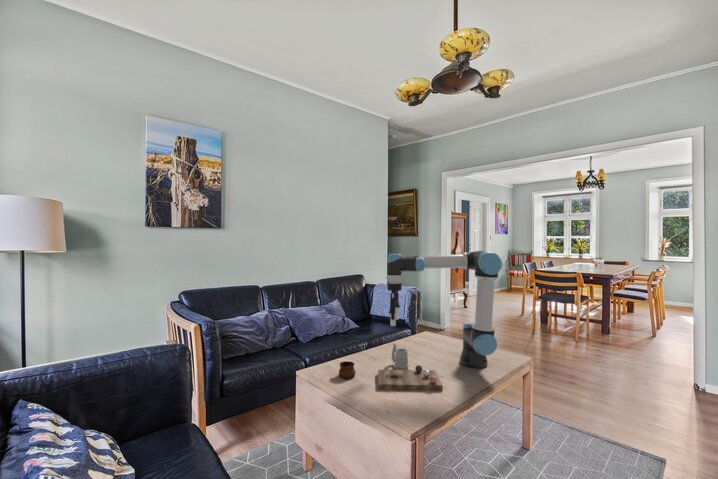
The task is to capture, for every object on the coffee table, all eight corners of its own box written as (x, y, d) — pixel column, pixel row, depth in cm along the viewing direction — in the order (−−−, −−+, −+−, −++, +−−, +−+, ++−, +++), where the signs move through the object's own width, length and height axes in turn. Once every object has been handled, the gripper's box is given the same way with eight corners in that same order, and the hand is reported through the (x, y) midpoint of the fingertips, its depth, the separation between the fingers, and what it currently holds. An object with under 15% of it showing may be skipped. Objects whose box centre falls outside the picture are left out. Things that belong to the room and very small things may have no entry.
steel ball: (429, 375, 172) (429, 369, 172) (430, 378, 168) (430, 371, 168) (422, 375, 172) (422, 368, 172) (423, 378, 169) (423, 371, 169)
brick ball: (436, 381, 165) (436, 374, 165) (437, 384, 162) (437, 377, 162) (428, 381, 166) (428, 374, 165) (430, 384, 162) (430, 377, 162)
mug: (401, 371, 184) (401, 349, 184) (386, 365, 193) (387, 343, 193) (411, 368, 188) (411, 346, 188) (397, 362, 198) (397, 341, 198)
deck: (435, 375, 179) (435, 370, 179) (442, 390, 161) (442, 385, 161) (377, 374, 180) (377, 369, 180) (378, 389, 162) (378, 384, 162)
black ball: (421, 370, 179) (421, 364, 179) (422, 373, 175) (422, 366, 175) (414, 370, 179) (414, 364, 179) (415, 373, 175) (415, 366, 175)
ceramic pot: (330, 384, 168) (331, 370, 168) (328, 371, 185) (328, 358, 185) (367, 383, 170) (367, 369, 170) (361, 370, 188) (361, 357, 188)
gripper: (390, 279, 196) (390, 316, 196) (383, 285, 171) (384, 328, 171) (403, 279, 194) (403, 317, 194) (398, 286, 170) (399, 328, 170)
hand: (394, 322), depth 183 cm, fingers open, 13 cm apart
